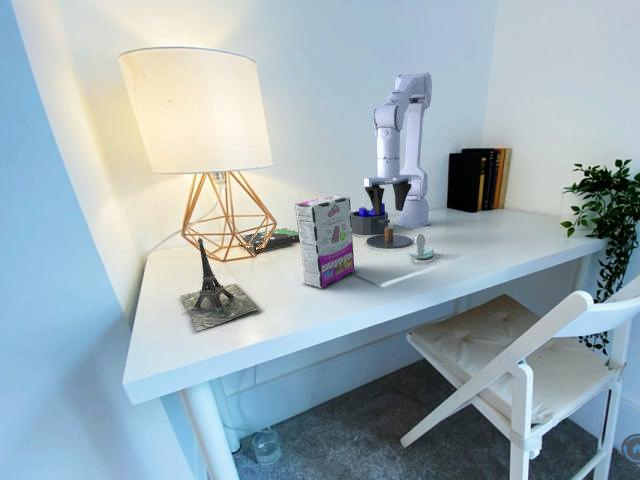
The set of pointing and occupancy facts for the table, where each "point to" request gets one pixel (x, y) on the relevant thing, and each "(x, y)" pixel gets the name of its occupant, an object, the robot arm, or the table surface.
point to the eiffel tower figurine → (215, 299)
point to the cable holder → (371, 212)
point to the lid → (388, 240)
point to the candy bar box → (325, 239)
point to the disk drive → (272, 239)
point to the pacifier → (422, 250)
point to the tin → (369, 224)
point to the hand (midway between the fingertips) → (388, 212)
